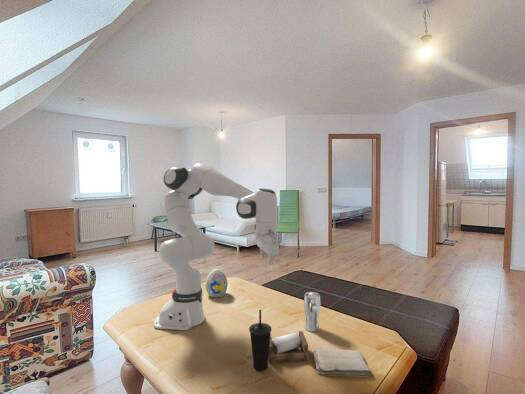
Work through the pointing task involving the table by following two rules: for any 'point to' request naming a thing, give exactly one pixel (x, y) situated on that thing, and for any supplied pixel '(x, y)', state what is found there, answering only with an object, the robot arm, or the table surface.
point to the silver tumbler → (312, 311)
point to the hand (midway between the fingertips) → (266, 261)
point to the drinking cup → (260, 344)
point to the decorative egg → (216, 283)
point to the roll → (286, 343)
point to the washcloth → (340, 363)
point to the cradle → (289, 352)
